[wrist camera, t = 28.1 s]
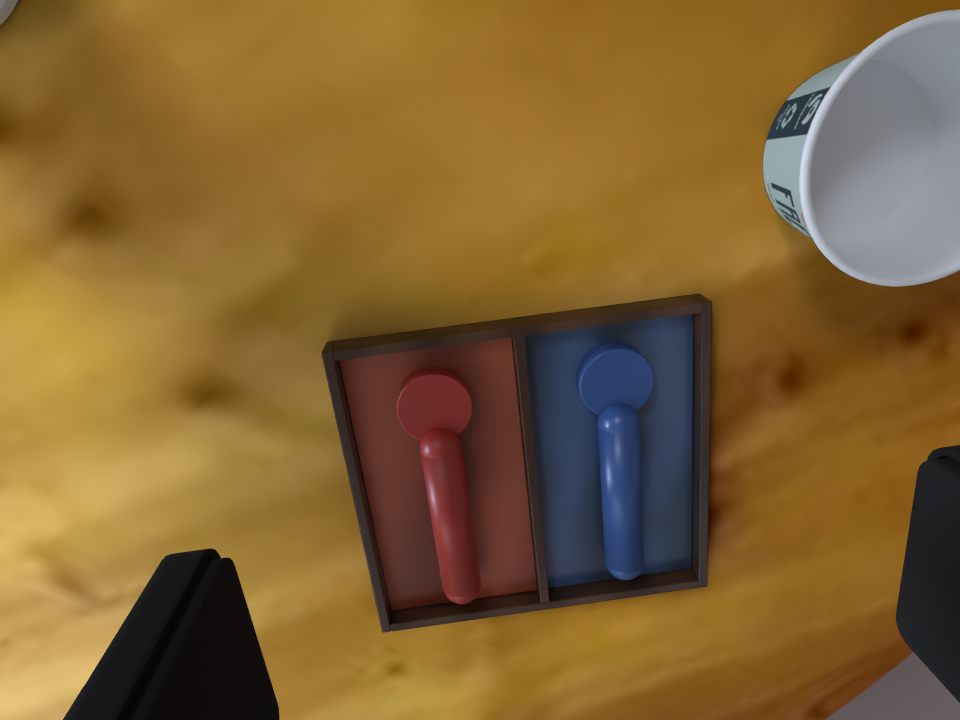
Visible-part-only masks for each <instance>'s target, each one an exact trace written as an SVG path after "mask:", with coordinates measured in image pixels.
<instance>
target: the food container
mask: <svg viewBox="0 0 960 720" xmlns="http://www.w3.org/2000/svg"><path fill="white" fill-rule="evenodd" d="M763 175H764V182H765V187H766V190H767V193H768V196H769V198H770V200H771V202H772V204H773V206H774V208H775V209H776V210H777V212H778V213H779V214H780V215H781V216H782V217H783V218H784V219H785V220H786V221H787V222H788V223H789V224H791V225H792V226H793V227H795V228H796V229H798V230H799V231H801V232H802V233H803V234H805V235H806V236H808V237H809V238H810V239H812V240H813V241H814V242H815V243H816V245H817V247H818V248H819V249H820V251H821V252H822V253H823V254H824V256H825V257H826V258H827V259H828V260H829V261H830V262H831V263H833V264H834V265H835V266H836V267H838V268H839V269H840V270H842V271H843V272H845V273H847V274H848V275H850V276H852V277H855V278H857V279H859V280H862V281H865V282H868V283H872V284H877V285H883V286H910V285H918V284H923V283H927V282H931V281H934V280H937V279H940V278H943V277H946V276H948V275H951V274H953V273H955V272H957V271H959V270H960V10H949V11H942V12H937V13H932V14H928V15H925V16H922V17H919V18H916V19H914V20H911V21H909V22H906V23H904V24H902V25H900V26H898V27H896V28H895V29H893V30H891V31H889V32H888V33H886V34H885V35H883V36H882V37H880V38H879V39H877V40H876V41H874V42H873V43H872V44H871V45H869V46H868V47H867V48H866V49H864V50H863V51H862V52H861V53H859V54H857V55H854V56H852V57H850V58H848V59H846V60H843V61H841V62H839V63H837V64H835V65H832V66H830V67H828V68H826V69H824V70H822V71H820V72H818V73H817V74H815V75H814V76H812V77H811V78H809V79H808V80H807V81H805V82H804V83H803V84H802V85H801V86H800V87H799V88H797V89H796V90H795V91H794V93H793V94H792V95H791V96H790V97H789V98H788V100H787V101H786V102H785V103H784V105H783V106H782V108H781V109H780V111H779V113H778V114H777V116H776V118H775V120H774V122H773V124H772V126H771V129H770V131H769V134H768V137H767V141H766V145H765V150H764V157H763Z"/></svg>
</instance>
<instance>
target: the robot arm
mask: <svg viewBox="0 0 960 720" xmlns="http://www.w3.org/2000/svg"><path fill="white" fill-rule="evenodd" d="M17 2H18V0H0V25H1V24H2V23H3V22H4V21H5V20H6V19H7V18H8V17H9V15H10V14H11V13H12V11H13V9H14V7H15V6H16V4H17ZM896 622H897V627H898V629H899V632H900V634H901V636H902V638H903V640H904V641H905V642H906V644H907V645H908V646H909V647H910V648H911V650H912V651H913V652H914V653H915V654H916V655H917V656H918V657H919V658H920V659H921V660H922V662H923V663H924V664H925V665H926V666H927V667H928V668H929V669H930V670H931V671H932V673H933V674H934V675H935V676H936V677H937V678H938V679H939V680H940V681H941V683H942V684H943V685H944V686H945V687H946V688H947V689H948V690H949V691H950V692H951V694H952V695H953V696H954V697H955V698H956V699H957V700H958V701H959V702H960V445H957V446H950V447H943V448H938V449H936V450H933V451H932V452H931V454H930V455H929V456H928V459H927V461H925V462H923V463H922V464H921V465H920V467H919V470H918V474H917V481H916V487H915V494H914V500H913V507H912V513H911V520H910V526H909V533H908V539H907V546H906V552H905V559H904V565H903V572H902V578H901V585H900V591H899V598H898V604H897V611H896ZM63 720H279V708H278V704H277V700H276V697H275V694H274V690H273V687H272V684H271V681H270V678H269V674H268V671H267V668H266V665H265V661H264V658H263V655H262V652H261V649H260V645H259V642H258V639H257V636H256V632H255V629H254V626H253V623H252V620H251V616H250V613H249V610H248V607H247V603H246V600H245V597H244V594H243V591H242V587H241V584H240V581H239V578H238V574H237V571H236V568H235V565H234V563H233V561H232V560H231V559H230V558H220V555H219V554H218V553H217V551H216V550H214V549H204V550H197V551H189V552H182V553H175V554H170V555H167V556H166V557H165V558H164V559H163V560H162V561H161V563H160V564H159V566H158V568H157V569H156V571H155V572H154V574H153V576H152V577H151V579H150V581H149V582H148V584H147V585H146V587H145V589H144V590H143V592H142V593H141V595H140V597H139V598H138V600H137V602H136V603H135V605H134V606H133V608H132V610H131V611H130V613H129V615H128V616H127V618H126V619H125V621H124V623H123V624H122V626H121V627H120V629H119V631H118V632H117V634H116V636H115V637H114V639H113V640H112V642H111V644H110V645H109V647H108V649H107V650H106V652H105V653H104V655H103V657H102V658H101V660H100V662H99V663H98V665H97V666H96V668H95V670H94V671H93V673H92V674H91V676H90V678H89V679H88V681H87V683H86V684H85V686H84V687H83V688H82V690H81V691H80V693H79V695H78V696H77V698H76V699H75V701H74V703H73V704H72V706H71V708H70V709H69V711H68V712H67V714H66V716H65V717H64V719H63Z"/></svg>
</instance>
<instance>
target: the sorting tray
mask: <svg viewBox="0 0 960 720" xmlns="http://www.w3.org/2000/svg"><path fill="white" fill-rule="evenodd" d="M711 340H712V301H710V300H709V299H707V298H706V297H704V296H703V295H701V294H693V295H685V296H678V297H670V298H662V299H655V300H647V301H639V302H632V303H624V304H616V305H609V306H601V307H593V308H586V309H578V310H570V311H563V312H555V313H548V314H540V315H532V316H525V317H517V318H509V319H502V320H494V321H486V322H479V323H471V324H463V325H456V326H448V327H440V328H433V329H425V330H417V331H410V332H402V333H394V334H387V335H379V336H371V337H364V338H356V339H349V340H341V341H334V342H327V343H326V345H325V347H324V349H323V351H322V358H323V363H324V367H325V372H326V376H327V381H328V386H329V390H330V395H331V399H332V404H333V408H334V413H335V418H336V422H337V427H338V431H339V436H340V441H341V445H342V450H343V454H344V459H345V464H346V468H347V473H348V477H349V482H350V486H351V491H352V496H353V500H354V505H355V509H356V514H357V519H358V523H359V528H360V532H361V537H362V542H363V546H364V551H365V555H366V560H367V564H368V569H369V574H370V578H371V583H372V587H373V592H374V597H375V601H376V606H377V610H378V615H379V619H380V624H381V629H382V632H390V631H397V630H404V629H411V628H418V627H425V626H432V625H439V624H446V623H453V622H461V621H468V620H475V619H482V618H489V617H496V616H503V615H510V614H517V613H524V612H531V611H538V610H545V609H552V608H559V607H566V606H573V605H580V604H587V603H594V602H601V601H608V600H615V599H622V598H629V597H636V596H643V595H650V594H657V593H665V592H672V591H679V590H686V589H693V588H698V587H706V586H707V565H708V509H709V453H710V396H711ZM615 342H616V343H624V344H628V345H630V346H632V347H634V348H636V349H637V350H638V351H639V352H640V353H641V354H642V355H643V356H644V357H645V358H646V359H647V361H648V362H649V364H650V365H651V367H652V370H653V374H654V385H653V389H652V392H651V395H650V397H649V398H648V400H647V401H646V403H645V404H644V405H643V406H642V407H641V408H640V409H638V410H637V413H638V415H639V417H640V422H641V453H642V491H643V529H644V567H643V570H642V572H641V573H640V574H639V575H638V576H637V577H635V578H634V579H631V580H621V579H618V578H616V577H615V576H613V575H612V574H611V573H610V572H609V570H608V569H607V566H606V563H605V549H604V531H603V512H602V494H601V475H600V456H599V438H598V417H599V415H597V414H595V413H594V412H592V411H591V410H590V409H589V408H588V407H587V406H586V405H585V403H584V402H583V400H582V398H581V396H580V394H579V392H578V390H577V386H576V374H577V370H578V367H579V365H580V363H581V361H582V360H583V359H584V357H585V356H586V355H587V354H588V353H589V352H590V351H592V350H593V349H595V348H596V347H599V346H601V345H604V344H607V343H615ZM430 367H440V368H445V369H448V370H451V371H453V372H455V373H456V374H458V375H459V376H460V377H461V378H462V379H463V380H464V381H465V382H466V384H467V385H468V387H469V389H470V392H471V397H472V404H473V411H472V417H471V419H470V422H469V424H468V425H467V427H466V428H465V429H464V430H463V431H462V432H461V433H460V434H459V435H458V436H459V438H460V440H461V444H462V451H463V458H464V465H465V472H466V479H467V486H468V493H469V500H470V507H471V514H472V521H473V528H474V535H475V542H476V549H477V557H478V564H479V571H480V578H481V588H480V591H479V593H478V595H477V597H476V598H475V599H474V600H472V601H471V602H469V603H466V604H457V603H455V602H452V601H451V600H450V599H449V598H448V597H447V596H446V595H445V593H444V590H443V586H442V580H441V574H440V568H439V562H438V556H437V550H436V544H435V538H434V532H433V527H432V521H431V515H430V509H429V503H428V497H427V491H426V485H425V479H424V473H423V467H422V461H421V456H420V442H421V440H418V439H416V438H414V437H413V436H411V435H410V434H409V433H408V432H407V431H406V430H405V429H404V428H403V427H402V425H401V423H400V421H399V419H398V415H397V400H398V394H399V391H400V388H401V386H402V384H403V383H404V382H405V380H406V379H407V378H408V377H409V376H411V375H412V374H413V373H415V372H417V371H419V370H422V369H425V368H430Z"/></svg>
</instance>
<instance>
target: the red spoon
mask: <svg viewBox="0 0 960 720" xmlns="http://www.w3.org/2000/svg"><path fill="white" fill-rule="evenodd" d="M472 411H473V404H472V397H471V392H470V389H469V387H468V385H467V384H466V382H465V381H464V380H463V379H462V378H461V377H460V376H459V375H458V374H456V373H455V372H453V371H451V370H448V369H445V368H440V367H430V368H425V369H422V370H419V371H417V372H415V373H413V374H412V375H411V376H409V377H408V378H407V379H406V380H405V382H404V383H403V384H402V386H401V388H400V391H399V394H398V400H397V415H398V419H399V421H400V423H401V425H402V427H403V428H404V429H405V430H406V431H407V432H408V433H409V434H410V435H411V436H413V437H414V438H416V439H418V440H421V442H420V456H421V461H422V467H423V473H424V479H425V485H426V491H427V497H428V503H429V509H430V515H431V521H432V527H433V532H434V538H435V544H436V550H437V556H438V562H439V568H440V574H441V580H442V586H443V590H444V593H445V595H446V596H447V597H448V598H449V599H450V600H451V601H452V602H455V603H457V604H466V603H469V602H471V601H472V600H474V599H475V598H476V597H477V595H478V593H479V591H480V588H481V578H480V571H479V564H478V557H477V549H476V542H475V535H474V528H473V521H472V514H471V507H470V500H469V493H468V486H467V479H466V472H465V465H464V458H463V451H462V444H461V440H460V438H459V436H458V435H459V434H460V433H461V432H462V431H463V430H464V429H465V428H466V427H467V425H468V424H469V422H470V419H471V417H472Z"/></svg>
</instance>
